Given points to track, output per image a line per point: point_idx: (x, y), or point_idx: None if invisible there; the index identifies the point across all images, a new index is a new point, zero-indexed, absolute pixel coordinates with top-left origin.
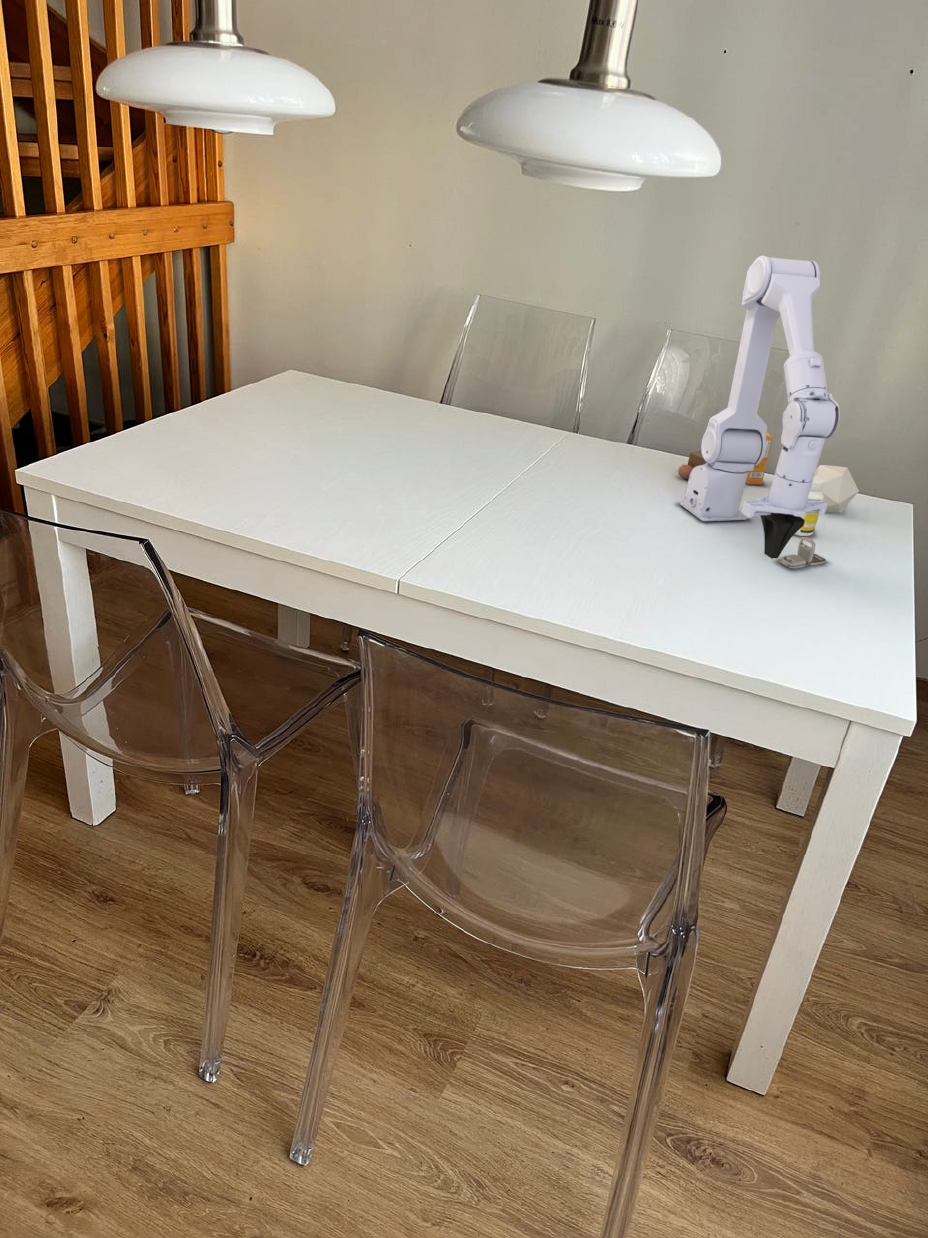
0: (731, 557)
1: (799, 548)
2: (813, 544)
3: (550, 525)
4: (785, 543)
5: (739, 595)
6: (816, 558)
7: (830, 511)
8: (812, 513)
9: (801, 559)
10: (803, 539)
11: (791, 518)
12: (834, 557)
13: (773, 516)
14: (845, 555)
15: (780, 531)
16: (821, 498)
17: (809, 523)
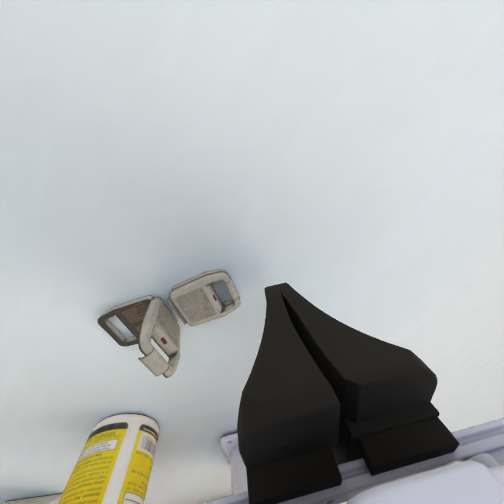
0: (339, 303)
1: (178, 341)
2: (145, 340)
3: None
4: (274, 314)
5: (476, 84)
6: (125, 323)
7: (27, 500)
8: (85, 491)
9: (182, 302)
10: (170, 365)
11: (324, 437)
12: (63, 345)
13: (436, 426)
14: (25, 359)
15: (355, 339)
16: None
17: (100, 453)
